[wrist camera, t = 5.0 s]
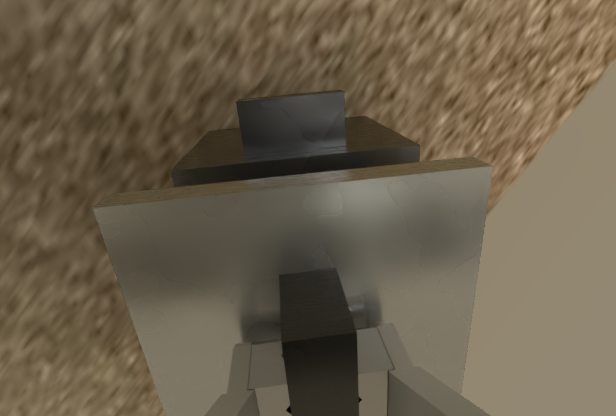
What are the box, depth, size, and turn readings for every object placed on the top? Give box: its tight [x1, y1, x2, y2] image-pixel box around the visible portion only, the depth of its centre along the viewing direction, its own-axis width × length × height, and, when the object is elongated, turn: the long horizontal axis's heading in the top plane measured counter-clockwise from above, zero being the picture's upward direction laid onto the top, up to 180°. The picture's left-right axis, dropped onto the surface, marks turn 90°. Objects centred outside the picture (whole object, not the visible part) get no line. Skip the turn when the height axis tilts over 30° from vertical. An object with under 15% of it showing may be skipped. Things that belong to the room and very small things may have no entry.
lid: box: [93, 157, 493, 416], centre depth 10 cm, size 10×10×4 cm
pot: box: [171, 90, 420, 187], centre depth 18 cm, size 13×9×8 cm
